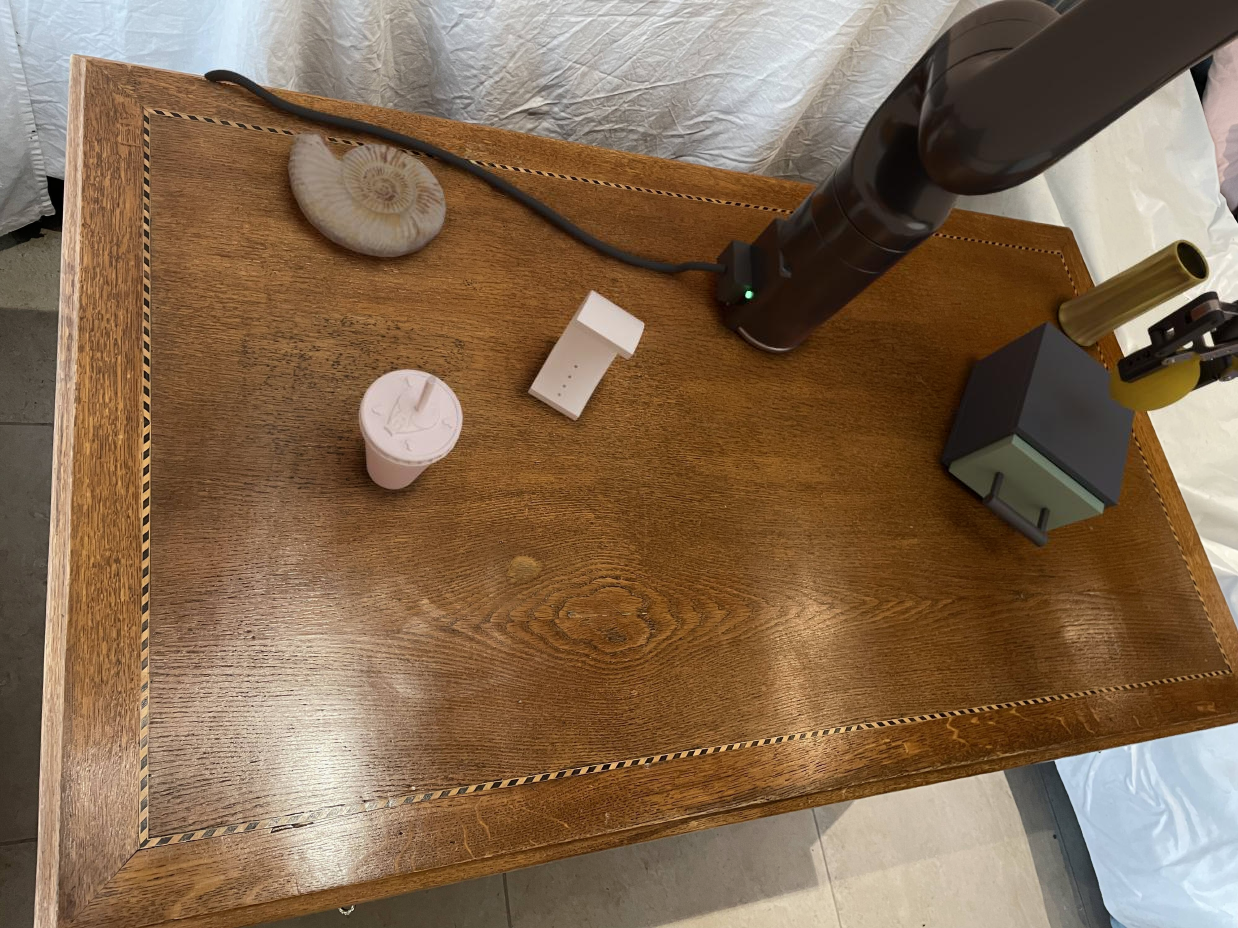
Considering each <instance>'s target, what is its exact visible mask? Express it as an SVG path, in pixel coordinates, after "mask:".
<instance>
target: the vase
mask: <svg viewBox="0 0 1238 928" xmlns="http://www.w3.org/2000/svg"><path fill="white" fill-rule="evenodd" d="M1209 277H1210V267H1209V264H1208V261H1207V258H1206V257H1205V255H1204V254H1203V252H1202V251H1201V250H1200V248H1198V247H1197V245H1195V244H1194V243H1193V242H1191V241H1189V240H1186V239H1181V238H1180V239H1178V240H1175V241H1173V242H1171V243H1169V244H1168V245H1166V246H1165V247H1163V248H1162V249H1159V250H1158V251H1156V252H1154V253H1153V254H1151V255H1149V256H1148V257H1146V258H1144V259H1142V260H1140V262H1138V263H1136V264H1134V265H1132V266H1130V267H1129V268H1126V269H1125V270H1123V271H1121V272H1119V273H1117V274H1116V275H1113V276H1112V277H1110V278H1108V279H1106V280H1104V281H1103V282H1101V283H1099V284H1097V285H1096V286H1094V287H1092V288H1091V289H1089V290H1087V291H1086V292H1084V293H1082V294H1079V295H1078V296H1076V297H1074V298H1072V299H1070V300H1068V301H1065V302H1063V303H1062V304H1060V306H1059V308H1058V313H1057V317H1058V321H1059V325H1060V327H1061V329H1062V331H1063V333H1064V334H1065V336H1066V337H1068V338H1069V339H1070V340H1071V341H1073V342H1074V343H1075V344H1076V345H1078V346H1082V347H1090V346H1092V345H1093V344H1094V343H1096V342H1097V341H1099V340H1100V339H1102V338H1104V337H1106V336H1107V335H1109V334H1110V333H1112V332H1113V331H1116V330H1118V329H1119V328H1120V327H1122V326H1125V325H1126V324H1127V323H1130V322H1131V321H1133V320H1135V319H1138V318H1140V317H1141V316H1143V315H1144V314H1147V313H1148V312H1150V311H1153V310H1154V309H1155V308H1158V307H1159V306H1161V305H1163V304H1165V303H1167V302H1168V301H1171V300H1172V299H1174V298H1176V297H1178V296H1180V295H1182V294H1184V293H1187V292H1188V291H1189V290H1192V289H1193V288H1194V287H1197V286H1199V285H1200V284H1202V283H1204V282H1206V281H1207V280H1208V279H1209Z"/></svg>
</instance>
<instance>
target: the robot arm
mask: <svg viewBox="0 0 1238 928" xmlns="http://www.w3.org/2000/svg"><path fill="white" fill-rule="evenodd" d="M1237 40H1238V0H1080V1H1079V2H1078V3H1077V4H1075V5H1074V6H1073V7H1071V8H1069V9H1068V10H1067V11H1065V12H1064V13H1063V14H1060V13H1059V12H1058V11H1057V10H1056V9H1054V8H1053V7H1051V6H1050V5H1048V4H1046V3H1044V2H1042V1H1039V0H998V1H994V2H991V3H988V4H986V5H982V6H980V7H978V8H977V9H975V10H973V11H971V12H970V13H968V14H966V15H965V16H963V17H962V18H960V19H959V20H958V21H956V22H955V23H953V25H952V26H950V27H949V28H948V29H947V30H946V31H944V33H943V34H942V35H940V37H938V38H937V40H936V41H934V43H933V44H931V46H930V47H929V48H927V50H926V52H925V53H924V54H923V55H922V56H921V57H920V58H919V60H917V62H915V64H914V65H913V66H912V67H911V69H909V71H908V72H907V73H906V74H905V75H904V76H903V78H902V79H901V80H900V81H899V82H898V84H897V85H896V86H895V87H894V88H893V89H892V91H891V92H890V93H889V94H888V95H887V97H886V98H885V99H884V100H883V101H882V102H881V104H880V105H879V106H878V107H877V108H876V110H875V111H874V112H873V113H872V115H871V116H870V118H869V119H868V120H867V122H866V124H865V125H864V126H863V129H862V130H861V132H860V133H859V135H858V138H857V139H856V141H855V143H854V145H853V146H852V147H851V149H850V150H849V151H848V152H847V154H846V155H845V156H844V157H843V158H842V159H841V160H840V162H839V163H837V164H836V166H835V167H834V168H833V169H832V170H831V172H829V174H828V175H826V177H825V178H824V179H823V180H822V181H821V182H819V184H818V185H817V187H815V188H814V189H813V190H812V192H811V193H810V194H809V195H808V196H807V197H806V198H805V199H804V200H803V201H802V202H801V203H800V204H799V206H797V207H796V208H795V210H794V211H793V212H792V213H791V214H790V215H789V216H788V217H787V218H784V217H781V216H776V217H775V218H773V219H772V221H771V222H769V224H768V225H767V226H766V227H765V228H764V229H763V231H762V232H761V233H760V234H759V235H758V236H757V237H756V238H755V239H754V240H753V241H752V243H748V242H745V241H742V240H738V239H735V238H733V239H732V240H731V241H730V242H729V243H728V244H727V246H726V247H725V248H724V249H723V250H722V251H721V252H720V254H718V256H717V257H716V263H714V262H708V261H696V260H695V261H686V262H685V261H684V262H682V263H677V264H675V263H665V262H659V261H653V260H648V259H646V258H645V259H644V258H642V257H639V256H636V255H633V254H631V253H629V252H626V251H624V250H621V249H619V248H617V247H615V246H613V245H610V244H608V243H606V242H603V241H602V240H600V239H598V238H595V237H594V236H592V235H591V234H589V233H587V232H586V231H583V229H581V228H579V227H577V226H576V225H575V224H573V223H572V222H571V221H569V220H568V219H566V218H565V217H564V216H562V215H560V214H559V213H558V212H557V211H555V210H553V209H552V208H551V207H549V206H548V205H545V204H544V203H542V201H539V200H537V199H536V198H535V197H533V196H531V195H529V193H526V192H524V191H523V190H521V189H520V188H518V187H517V186H514V184H511V183H510V182H508V181H506V180H504V179H503V178H501V177H499V176H498V175H496V174H494V173H492V172H491V171H488V170H487V169H485V168H483V167H481V166H479V165H477V164H475V163H473V162H471V161H469V160H467V159H465V158H463V157H461V156H458V155H457V154H455V153H452V152H450V151H448V150H445V149H442V148H440V147H438V146H435V145H433V144H431V143H428V142H425V141H423V140H420V139H418V138H416V137H415V138H414V137H413V136H409V135H406V134H403V133H400V132H398V131H394V130H391V129H388V128H385V127H382V126H378V125H375V124H373V123H369V122H366V121H362V120H358V119H357V120H356V119H353V118H348V117H344V116H339V115H335V114H331V113H327V112H322V111H319V110H314V109H311V108H308V107H304V106H301V105H299V104H295V103H293V102H290V101H287V100H286V99H283V98H281V97H279V96H278V95H276V94H275V93H272V92H271V91H269V90H267V89H266V88H264V87H262V86H261V85H260V84H258V83H256V82H255V81H253V80H252V79H250V78H248V77H246V76H245V75H242V74H241V73H238V72H236V71H233V70H228V69H214V70H210V71H207V72H205V73H204V74H203V78H204V79H205V80H206V81H207V82H211V83H220V82H226V83H227V82H228V83H232V84H234V85H237V86H239V87H241V88H243V89H245V90H246V91H248V92H250V93H252V94H253V95H255V96H256V97H258V99H261V100H262V101H264V102H266V103H267V104H269V105H271V106H273V107H275V108H277V109H278V110H280V111H283V112H284V113H288V114H290V115H293V116H295V117H299V118H302V119H305V120H309V121H312V122H315V123H316V122H317V123H319V124H324V125H328V126H333V127H338V128H342V129H347V130H351V131H355V132H360V133H364V134H366V135H367V134H368V135H371V136H374V137H377V138H381V139H383V140H386V141H390V142H393V143H396V144H399V145H402V146H405V147H408V148H411V149H413V150H416V151H419V152H422V153H425V154H427V155H430V156H432V157H434V158H436V159H439V160H441V161H444V162H446V163H448V164H450V165H453V166H455V167H457V168H459V169H462V170H463V171H466V172H468V173H470V174H472V175H474V176H475V177H478V178H479V179H482V180H483V181H485V182H487V183H489V184H491V185H492V186H494V187H496V188H498V189H500V190H501V191H503V192H505V193H506V194H508V195H509V196H511V197H513V198H515V199H516V200H518V201H519V202H520V203H522V204H524V205H526V206H527V207H529V208H531V209H533V210H534V211H536V212H537V213H539V214H541V215H542V216H544V217H546V218H547V219H548V220H549V221H551V222H553V223H554V224H556V225H557V226H558V227H560V228H561V229H563V231H566V232H567V233H568V234H570V235H571V236H573V237H574V238H576V239H578V240H579V241H581V242H583V243H584V244H586V245H588V246H589V247H591V248H593V249H595V250H597V251H599V252H601V253H603V254H606V255H608V256H611V257H612V258H615V259H616V260H619V261H622V262H624V263H627V264H629V265H633V266H634V267H638V268H642V269H647V270H651V271H655V272H658V273H659V272H660V273H668V274H683V273H687V272H689V271H696V272H697V271H698V272H707V273H715V274H716V285H717V287H716V288H717V301H719V302H723V304H724V321H725V322H724V325H725V327H726V328H727V329H730V330H734V331H736V332H737V333H738V335H739V336H741V337H742V339H743V340H745V341H746V342H747V343H748V344H750V345H751V346H753V347H755V348H757V349H758V350H761V351H763V352H766V353H770V354H785V353H788V352H792V351H793V350H795V349H797V348H798V346H800V345H802V344H803V342H804V341H805V340H806V339H807V338H808V337H810V336H811V335H812V334H813V333H815V331H817V330H818V329H820V327H821V326H823V325H824V324H825V323H827V322H828V321H829V320H830V319H831V318H832V317H834V316H835V315H836V314H837V313H838V312H840V311H842V309H844V308H845V307H846V306H847V305H849V304H850V303H851V302H852V301H853V300H855V299H856V298H857V297H858V296H860V295H861V294H862V293H863V292H865V291H866V290H867V289H868V288H869V287H871V286H872V285H873V284H874V283H876V282H877V281H878V280H879V279H880V278H882V277H883V276H884V275H885V274H887V273H888V272H889V271H891V269H893V268H894V267H896V266H897V265H898V264H899V263H901V262H902V261H903V260H904V259H905V258H907V257H908V256H909V255H910V254H911V253H913V252H914V251H915V250H916V249H918V248H919V247H920V246H922V244H924V243H925V242H926V241H928V240H929V239H930V238H931V237H933V236H934V235H935V234H936V233H937V232H938V231H939V230H940V229H941V228H942V227H943V226H944V224H945V223H946V221H947V220H948V218H949V217H950V215H951V212H952V211H953V208H954V207H955V205H956V202H957V200H958V199H959V196H965V197H976V196H979V197H980V196H987V195H992V194H998V193H1001V192H1004V191H1007V190H1010V189H1014V188H1016V187H1019V186H1021V185H1023V184H1025V183H1027V182H1028V181H1032V180H1033V179H1034V178H1036V177H1038V176H1040V175H1041V174H1043V173H1045V172H1046V171H1048V170H1049V169H1051V168H1053V167H1055V166H1056V165H1057V164H1059V163H1060V162H1061V161H1062V160H1064V159H1066V158H1067V157H1068V156H1070V155H1071V154H1072V153H1074V152H1076V151H1077V150H1078V149H1079V148H1081V147H1083V146H1084V145H1085V144H1087V143H1088V142H1089V141H1090V140H1092V139H1093V138H1095V137H1096V136H1097V135H1098V134H1100V133H1102V132H1103V131H1104V130H1105V129H1107V128H1108V127H1110V126H1111V125H1112V124H1113V123H1115V122H1116V121H1118V120H1119V119H1121V118H1122V117H1123V116H1124V115H1126V114H1127V113H1129V112H1130V111H1132V110H1133V109H1134V108H1136V107H1137V106H1138V105H1139V104H1142V102H1143V101H1145V100H1147V99H1148V98H1149V97H1151V96H1152V95H1153V94H1155V93H1156V92H1158V91H1159V90H1160V89H1162V88H1164V87H1165V86H1166V85H1168V84H1169V83H1170V82H1172V81H1173V80H1175V79H1176V78H1178V77H1179V76H1181V75H1183V74H1184V73H1185V72H1187V71H1188V70H1190V69H1192V68H1193V67H1194V66H1196V65H1198V64H1199V63H1201V62H1202V61H1204V60H1206V59H1207V58H1209V57H1211V56H1212V55H1214V54H1216V53H1217V52H1219V51H1220V50H1222V49H1224V48H1225V47H1227V46H1228V45H1230V44H1232V43H1234V42H1235V41H1237ZM1207 333H1209V334H1210V337H1211V341H1212V344H1213V345H1212V346H1209V345H1207V343H1206V339H1205V336H1204V335H1206V334H1207ZM1147 335H1148V336H1149V340H1150V343H1151V344H1149V345H1146V346H1144V347H1145V348H1144V347H1142V348H1143V349H1142V348H1140V349H1141V350H1139V349H1138V350H1139V351H1137V350H1136V351H1137V352H1135V351H1133V352H1134V353H1133V352H1131V353H1132V354H1131V353H1130V354H1128V355H1126V356H1125V357H1122V358H1120V359H1119V360H1118V361H1117V363H1116V365H1117V367H1118V371H1119V375H1120V379H1121V381H1123V382H1127V383H1133V382H1135V381H1137V380H1139V379H1142V378H1144V377H1146V376H1148V375H1150V374H1153V373H1155V372H1157V371H1159V370H1161V369H1164V368H1166V367H1168V365H1171V364H1174V363H1178V362H1181V361H1185V360H1189V359H1192V358H1198V359H1199V360H1200V362H1199V364H1200V376H1199V380H1198V382H1197V384H1196V386H1195V387H1194V388H1193V389H1192V391H1191V392H1194V391H1197V390H1198V389H1199V390H1200V389H1201V388H1203V387H1207V386H1209V385H1211V384H1213V383H1215V382H1221V383H1225V382H1230V381H1233V380H1235V379H1236V378H1238V299H1236V300H1234V301H1232V302H1228V301H1227V302H1226V301H1221V300H1220V298H1219V294H1218V292H1217V291H1214V290H1211V291H1205V292H1203V293H1201V294H1199V295H1198V296H1196V297H1195V298H1193V299H1192V300H1190V301H1189V302H1187V303H1184V305H1182V306H1180V307H1179V308H1177V309H1176V310H1174V311H1173V312H1171V313H1169V314H1168V315H1166V316H1165V317H1162V318H1161V319H1160V320H1159V321H1157V322H1155V323H1154V324H1152V325H1150V326H1148V328H1147ZM1191 342H1192V344H1191ZM1189 344H1191V346H1190V347H1187V348H1186V347H1185V346H1186V345H1189ZM1181 347H1185V348H1186V349H1183V350H1179V351H1177V350H1178V349H1179V348H1181ZM1191 392H1190V393H1191Z"/></svg>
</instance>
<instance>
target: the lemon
mask: <svg viewBox="0 0 1238 928" xmlns="http://www.w3.org/2000/svg"><path fill="white" fill-rule="evenodd" d="M1145 347H1146V346H1144V347H1142V348H1139V349H1137V350H1135V351H1133V352H1131V353H1130V354H1132V353H1134V352H1137V351H1139V350H1141V349H1143V348H1145ZM1183 349H1186V347H1185V346H1183V347H1181V348H1179V349H1178V350H1177V351H1179V350H1183ZM1199 362H1200V360H1199V359H1198V358H1192V359H1189V360H1185V361H1181V362H1178V363H1174V364H1171V365H1168V367H1166V368H1164V369H1161V370H1159V371H1157V372H1155V373H1153V374H1150V375H1148V376H1146V377H1144V378H1142V379H1139V380H1137V381H1135V382H1133V383H1127V382H1123V381H1121V379H1120V375H1119V371H1118V367H1117V364H1116V365H1115V367H1114V368H1113V370H1112V371H1111V376H1110V380H1109V387H1110V393H1109V396H1110V398H1111V399H1113V400H1116V401H1117V402H1118V403H1119V404H1121V405H1122V406H1124V407H1125V408H1128V409H1131V410H1135V412H1153V411H1158V410H1161V409H1164V408H1166V407H1169V406H1171V405H1174V404H1175V403H1177V402H1179V401H1180V400H1182V399H1184V398H1185V397H1186V396H1188V395H1189V394H1190V393H1191V391H1192V389H1193V388H1194V387H1195V386H1196V384H1197V382H1198V380H1199V376H1200V364H1199ZM1192 392H1193V391H1192Z"/></svg>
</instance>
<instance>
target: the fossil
mask: <svg viewBox="0 0 1238 928" xmlns="http://www.w3.org/2000/svg"><path fill="white" fill-rule="evenodd" d="M287 169H288V172H287V173H288V177H289V183H290V187H291V191H292V194H293V196H294V198H295V200H296V203H297V205H298V206H299V209H300V211H301V212H302V213H303V215H304V216H305V218H306V219H307V221H308V222H309V223H310V224H311V225H312V226H313V227H314V228H316V230H318V232H320V233H321V234H322V235H323V236H324V237H326V238H327V239H329V240H331V241H332V242H334V243H336V244H337V245H340V246H342V247H344V248H346V249H348V250H350V251H353V252H356V253H361V254H364V255H368V256H374V257H378V258H388V257H389V258H396V257H400V256H404V255H405V256H406V255H409V254H412V253H416V252H418V251H420V250H422V249H424V248H425V247H426V246H427V245H429V244H430V242H431V241H432V240H433V239H434V238H435V237H436V236H437V235H438V234H439V233H440V231H441V230H442V228H443V225H444V222H445V218H446V213H447V205H446V203H447V202H446V197H445V193H444V190H443V188H442V187H441V185H440V183H439V182H438V179H437V178H436V177H435V175H434V174H433V173H432V172H431V170H430V169H429V168H428V167H427V165H425V164H424V163H423V162H422V161H420V160H419V159H417V158H416V157H414V156H412V155H410V154H409V153H407V152H403V151H402V150H401V149H399V148H398V149H397V148H394V147H392V145H386V144H376V143H370V144H369V143H368V144H367V143H366V144H363V145H358V146H356V147H353V148H350V149H349V150H348V151H347V152H345V153H344V154H342V156H341V155H338V154H337V153H336V151H335V149H334V148H333V147H332V145H329V144H328V143H327V139H326V136H325V135H324V133H322V132H321V131H320V130H309V131H308V130H307V131H301V132H300V133H299V134H297V135H296V136H295V137H294V139H293V141H292V147H291V149H290V154H289V160H288V162H287Z"/></svg>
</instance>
